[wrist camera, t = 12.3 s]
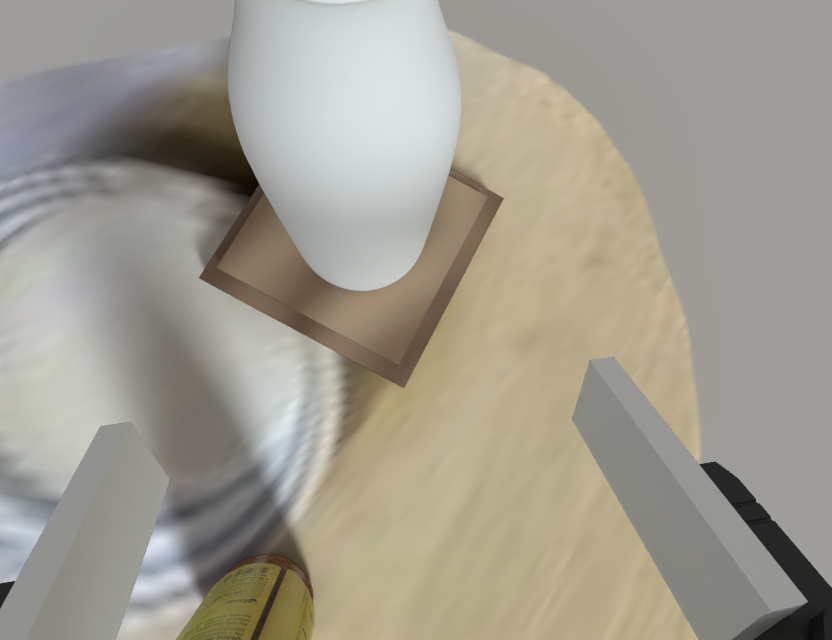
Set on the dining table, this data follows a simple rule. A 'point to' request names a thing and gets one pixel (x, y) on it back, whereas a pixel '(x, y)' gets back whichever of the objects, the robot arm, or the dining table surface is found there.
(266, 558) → the sauce bottle
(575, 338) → the dining table surface
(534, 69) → the dining table surface
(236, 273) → the podium
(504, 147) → the dining table surface
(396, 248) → the milk bottle
